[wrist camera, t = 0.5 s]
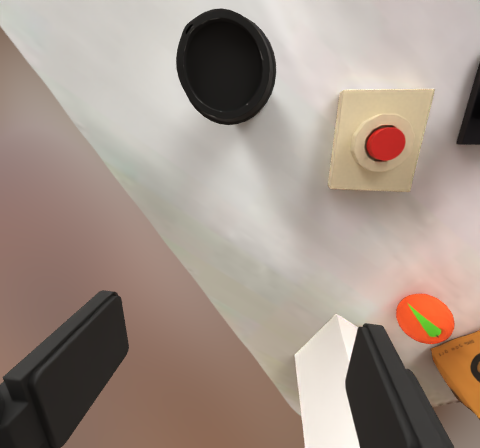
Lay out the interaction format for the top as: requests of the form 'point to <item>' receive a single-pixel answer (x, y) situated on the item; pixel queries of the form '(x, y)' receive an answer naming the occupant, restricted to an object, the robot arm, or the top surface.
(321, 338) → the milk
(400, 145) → the button
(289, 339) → the top surface
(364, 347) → the robot arm
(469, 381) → the coffee package
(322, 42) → the top surface
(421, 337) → the clementine
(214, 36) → the coffee cup
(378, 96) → the control box
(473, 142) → the switch bracket
